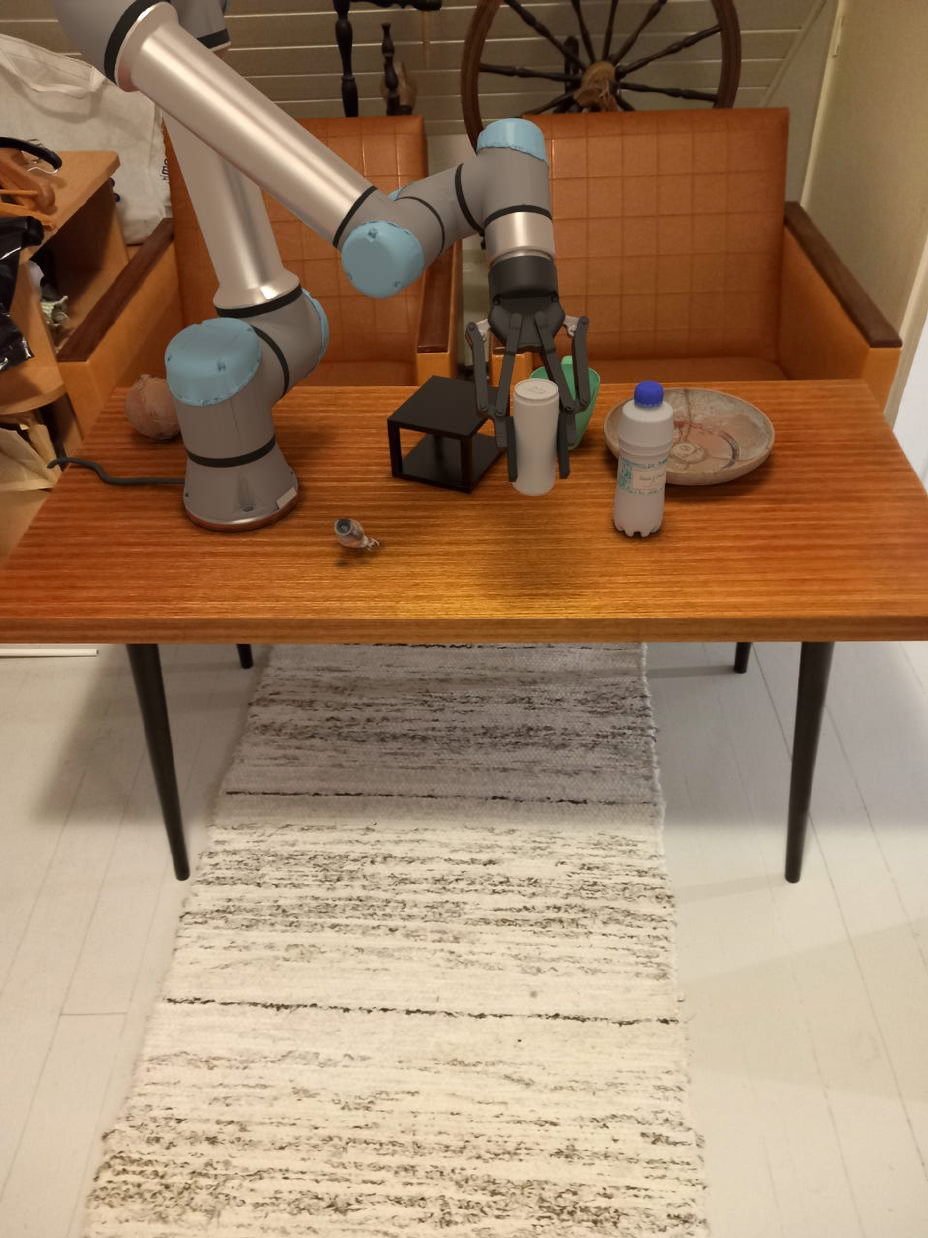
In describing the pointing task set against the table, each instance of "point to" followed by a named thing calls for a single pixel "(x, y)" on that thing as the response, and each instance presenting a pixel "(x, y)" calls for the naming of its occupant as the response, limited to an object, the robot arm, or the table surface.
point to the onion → (152, 408)
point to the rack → (444, 436)
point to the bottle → (643, 460)
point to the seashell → (351, 533)
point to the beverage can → (535, 435)
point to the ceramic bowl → (707, 435)
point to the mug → (582, 417)
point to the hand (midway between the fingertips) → (539, 477)
